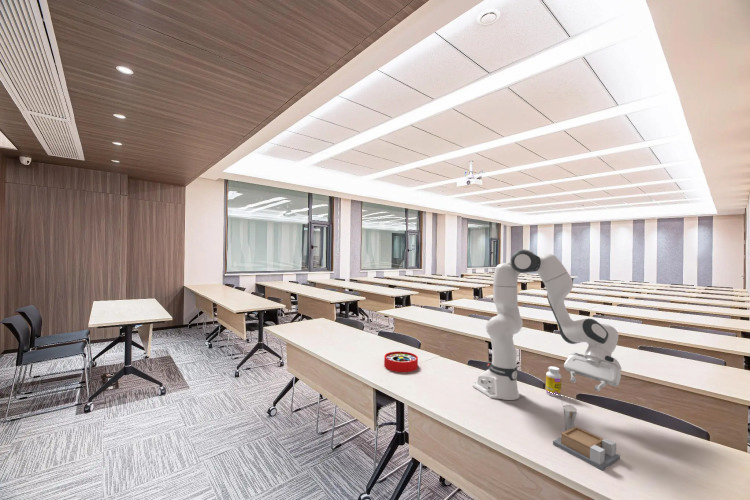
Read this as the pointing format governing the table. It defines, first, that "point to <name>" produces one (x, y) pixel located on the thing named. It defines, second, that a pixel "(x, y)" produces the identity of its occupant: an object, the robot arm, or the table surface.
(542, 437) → the table surface
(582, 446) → the baseplate
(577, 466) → the table surface
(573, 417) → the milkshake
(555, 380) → the supplement bottle
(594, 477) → the table surface
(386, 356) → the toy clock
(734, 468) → the table surface
